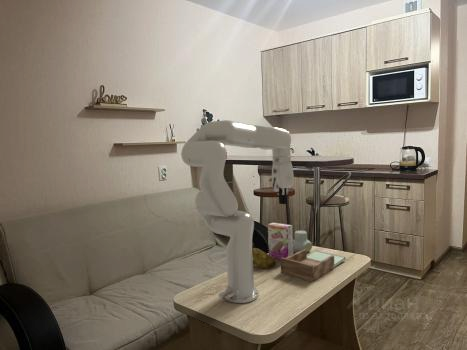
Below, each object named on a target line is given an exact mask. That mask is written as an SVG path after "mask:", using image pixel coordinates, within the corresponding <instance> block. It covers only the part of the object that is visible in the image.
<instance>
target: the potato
mask: <svg viewBox="0 0 467 350" xmlns="http://www.w3.org/2000/svg"><path fill="white" fill-rule="evenodd" d="M252 255H253V266H255V267H257V268H259V269H271V268H273V267H274V266H276V263H277V261H276V259H274V258H273V257H272V256H270V255H269V253H267V252H266V251H263V250H262V249H259V248H256V247H252Z"/></svg>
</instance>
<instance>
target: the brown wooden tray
mask: <svg viewBox="0 0 467 350" xmlns="http://www.w3.org/2000/svg"><path fill="white" fill-rule="evenodd" d="M307 256H308V252H307V250H306V249H304V250H301V251H299V252H295V253H293V255H291V256H289V257H286V258H283V257H281V258H280V260H279V261H280V273H281V274H284V275H287V276H290V277H294V278H297V279H300V280H304V281H307V282H311V283H313V282H315V281H316V280H318V279H320V277H322V276H324V275H325V274H327V273H329V272H331V271H332V270H333V269H335V267H334V256H333V255H331V256H329V257H327V258H326V259H324V260H322V261H317V260H313V259H308V258H307Z"/></svg>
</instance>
